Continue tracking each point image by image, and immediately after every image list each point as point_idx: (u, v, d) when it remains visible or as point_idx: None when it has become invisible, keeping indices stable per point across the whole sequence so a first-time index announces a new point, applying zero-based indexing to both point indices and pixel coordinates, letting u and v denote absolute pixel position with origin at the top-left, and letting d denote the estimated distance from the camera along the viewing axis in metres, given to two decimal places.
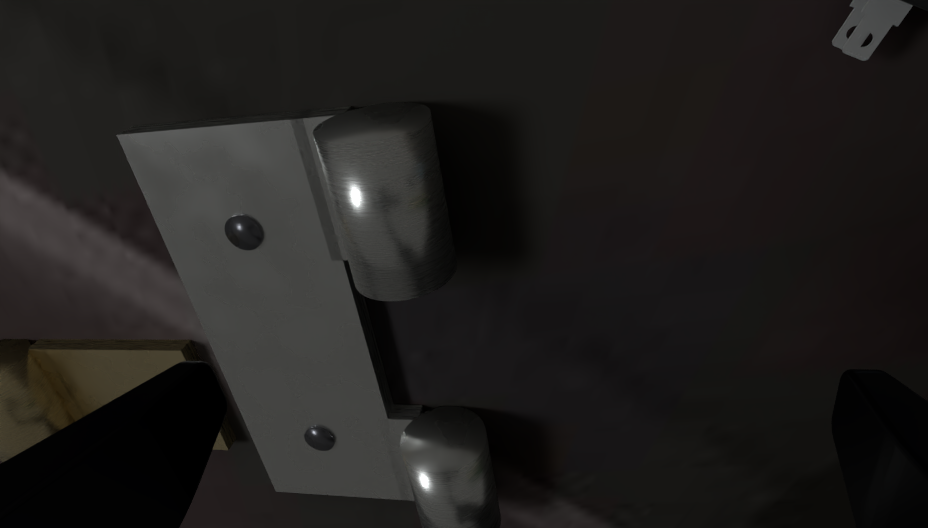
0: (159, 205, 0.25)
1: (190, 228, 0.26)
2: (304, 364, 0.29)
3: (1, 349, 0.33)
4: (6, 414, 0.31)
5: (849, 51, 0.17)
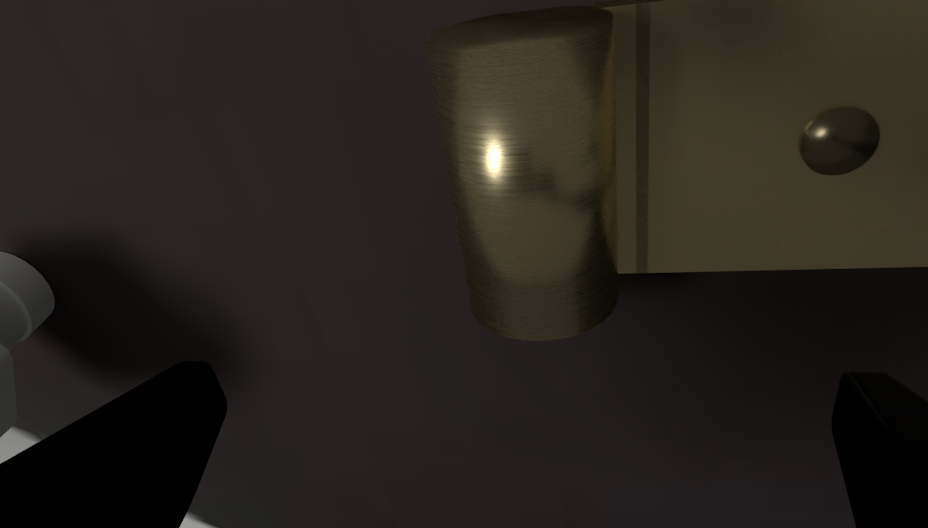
0: None
1: None
2: None
3: (517, 18, 0.14)
4: (584, 144, 0.13)
5: None
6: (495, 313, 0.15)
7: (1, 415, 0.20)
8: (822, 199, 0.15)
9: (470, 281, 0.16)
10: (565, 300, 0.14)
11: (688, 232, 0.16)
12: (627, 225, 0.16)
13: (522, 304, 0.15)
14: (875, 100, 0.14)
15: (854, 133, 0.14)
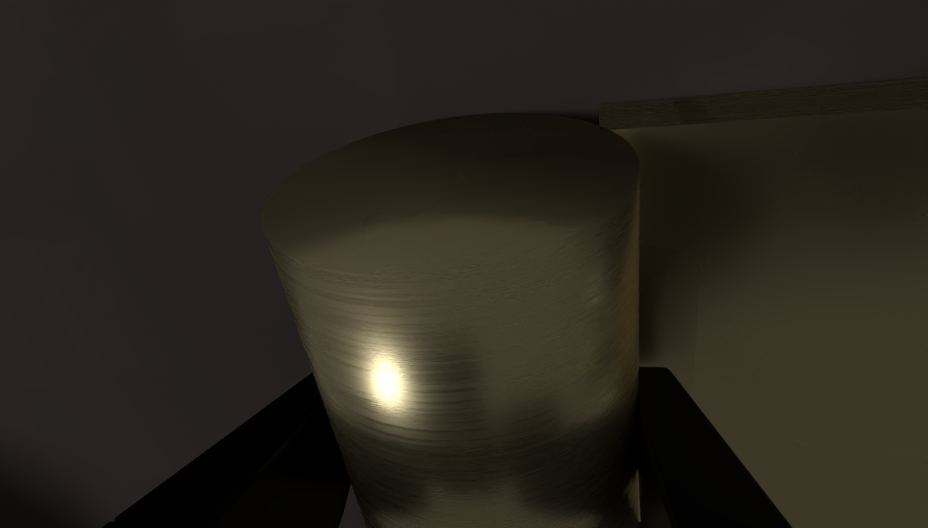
0: None
1: None
2: None
3: (455, 141, 0.07)
4: (577, 427, 0.06)
5: None
6: None
7: None
8: None
9: None
10: None
11: (757, 479, 0.09)
12: None
13: None
14: None
15: None
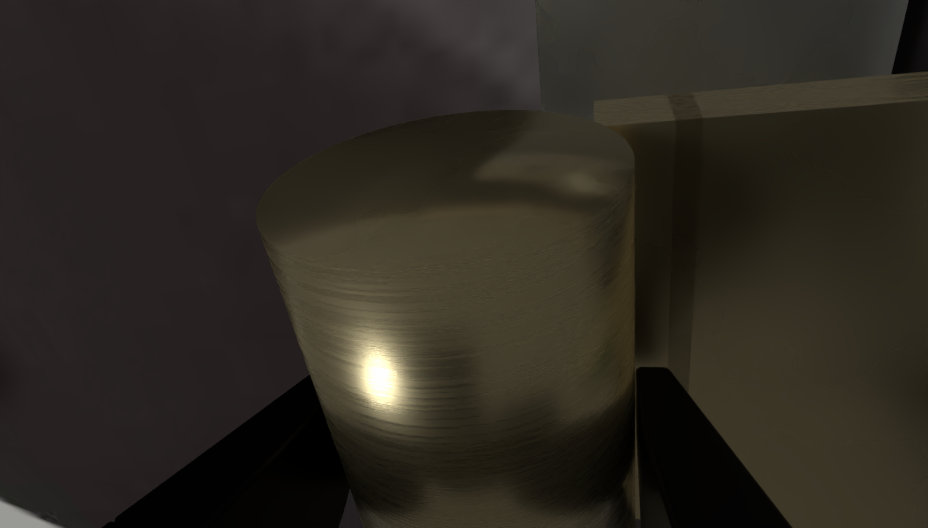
0: None
1: None
2: None
3: (449, 137, 0.07)
4: (574, 422, 0.06)
5: None
6: None
7: None
8: None
9: None
10: None
11: (753, 474, 0.09)
12: None
13: None
14: None
15: None
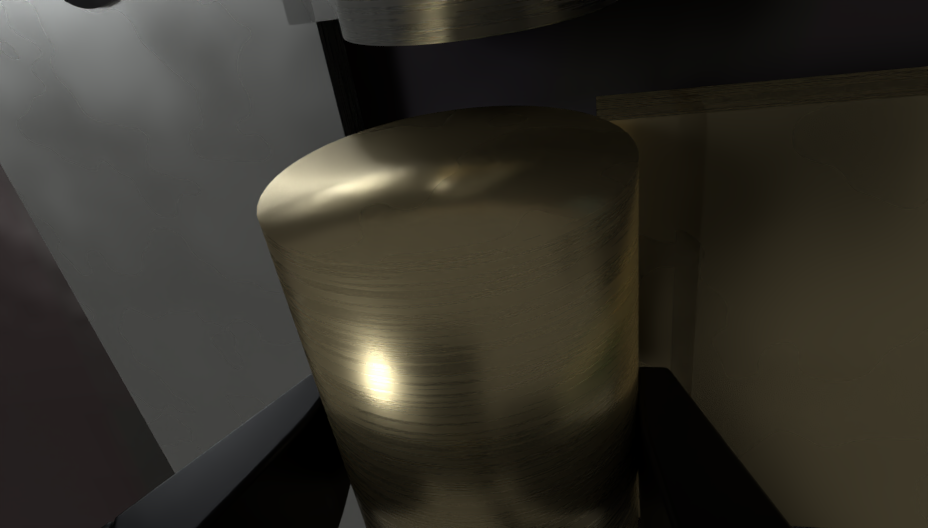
0: None
1: None
2: (244, 298, 0.14)
3: (451, 133, 0.07)
4: (579, 419, 0.06)
5: None
6: None
7: None
8: None
9: None
10: None
11: (756, 472, 0.09)
12: None
13: None
14: None
15: None
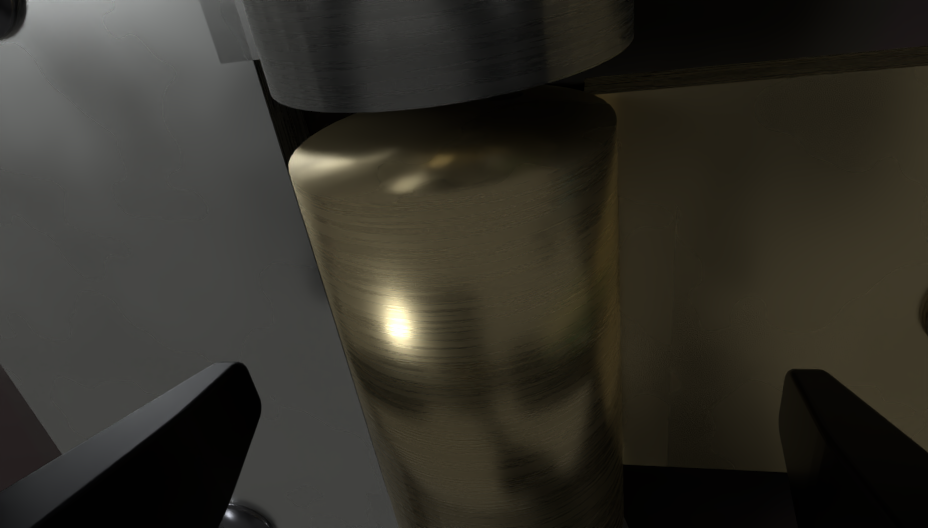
0: None
1: None
2: (188, 369, 0.12)
3: (456, 107, 0.08)
4: (563, 348, 0.07)
5: None
6: None
7: None
8: None
9: (392, 504, 0.10)
10: None
11: (731, 420, 0.10)
12: (637, 405, 0.11)
13: None
14: None
15: None
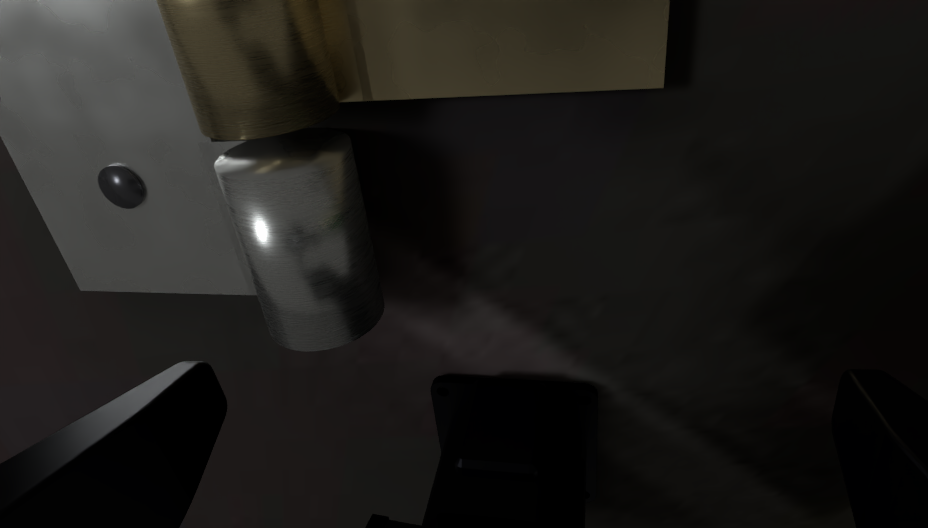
0: None
1: None
2: (76, 39, 0.19)
3: None
4: None
5: None
6: (201, 114, 0.16)
7: None
8: (505, 19, 0.16)
9: (186, 88, 0.17)
10: (254, 96, 0.16)
11: (399, 56, 0.17)
12: (346, 49, 0.17)
13: (216, 100, 0.16)
14: None
15: None
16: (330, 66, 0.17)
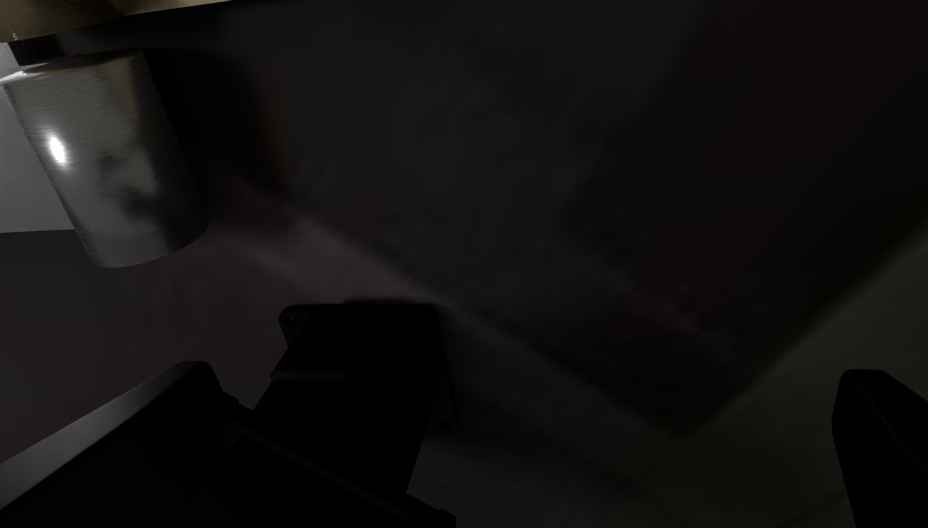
0: None
1: None
2: None
3: None
4: None
5: None
6: None
7: None
8: None
9: None
10: None
11: None
12: None
13: None
14: None
15: None
16: None
